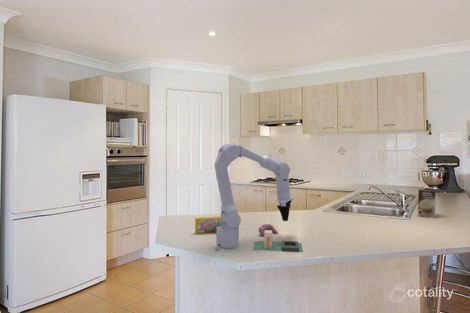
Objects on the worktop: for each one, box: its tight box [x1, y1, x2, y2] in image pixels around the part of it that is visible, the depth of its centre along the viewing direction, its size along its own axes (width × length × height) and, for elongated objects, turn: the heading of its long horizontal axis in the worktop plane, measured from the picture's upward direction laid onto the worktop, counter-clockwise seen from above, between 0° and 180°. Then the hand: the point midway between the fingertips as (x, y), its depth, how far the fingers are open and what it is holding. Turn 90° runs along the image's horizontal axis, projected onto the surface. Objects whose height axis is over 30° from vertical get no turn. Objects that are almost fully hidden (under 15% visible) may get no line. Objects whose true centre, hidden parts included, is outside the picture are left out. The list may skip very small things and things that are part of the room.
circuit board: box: [252, 240, 304, 253], centre depth 130 cm, size 20×12×1 cm, turn 82°
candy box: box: [194, 215, 223, 235], centre depth 154 cm, size 16×2×8 cm, turn 101°
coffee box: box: [417, 189, 436, 219], centre depth 190 cm, size 9×6×16 cm
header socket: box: [281, 240, 300, 253], centre depth 127 cm, size 7×9×2 cm
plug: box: [263, 230, 273, 249], centre depth 128 cm, size 3×5×6 cm, turn 172°
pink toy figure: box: [258, 223, 279, 238], centre depth 148 cm, size 10×5×7 cm, turn 141°
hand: (286, 218), depth 139 cm, fingers open, 7 cm apart
